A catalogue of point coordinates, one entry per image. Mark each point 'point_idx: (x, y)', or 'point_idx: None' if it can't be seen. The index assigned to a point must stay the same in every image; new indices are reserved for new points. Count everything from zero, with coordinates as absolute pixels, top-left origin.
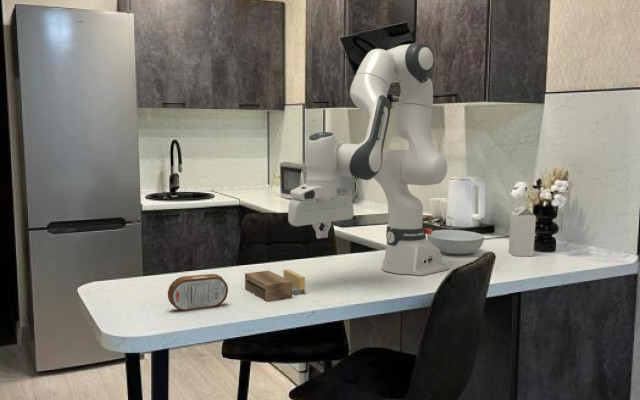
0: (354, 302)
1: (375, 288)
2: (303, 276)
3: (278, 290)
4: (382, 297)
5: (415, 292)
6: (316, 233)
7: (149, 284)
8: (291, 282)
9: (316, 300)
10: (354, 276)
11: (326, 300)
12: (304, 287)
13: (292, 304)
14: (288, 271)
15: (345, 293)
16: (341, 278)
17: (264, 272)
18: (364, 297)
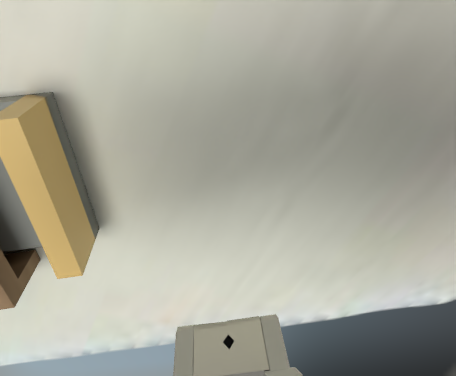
0: None
1: (368, 231)
2: (78, 266)
3: None
4: (320, 306)
5: (434, 289)
6: (175, 369)
7: None
8: (12, 306)
9: (120, 293)
10: (432, 45)
11: (152, 298)
12: (93, 244)
13: (32, 309)
14: (13, 167)
15: (243, 255)
16: (354, 59)
17: None
18: (274, 297)
